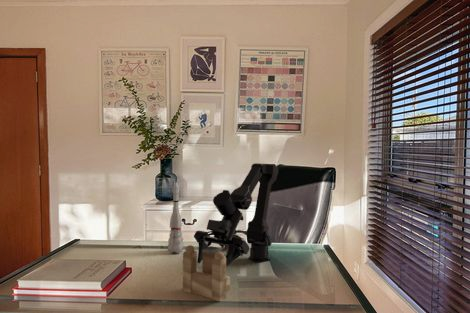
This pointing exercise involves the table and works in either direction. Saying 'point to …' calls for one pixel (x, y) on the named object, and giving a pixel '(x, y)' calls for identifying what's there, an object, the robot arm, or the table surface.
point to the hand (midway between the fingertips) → (210, 265)
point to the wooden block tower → (205, 276)
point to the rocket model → (175, 225)
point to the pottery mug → (228, 246)
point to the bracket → (209, 258)
